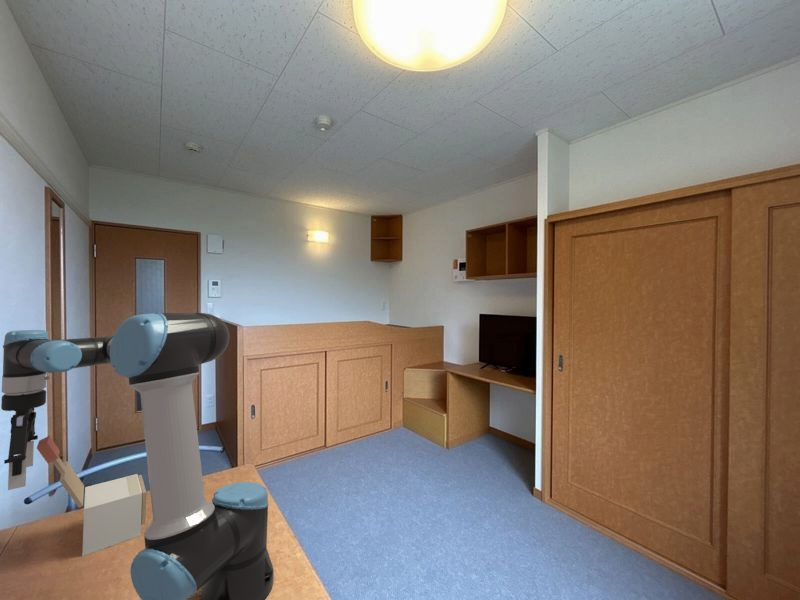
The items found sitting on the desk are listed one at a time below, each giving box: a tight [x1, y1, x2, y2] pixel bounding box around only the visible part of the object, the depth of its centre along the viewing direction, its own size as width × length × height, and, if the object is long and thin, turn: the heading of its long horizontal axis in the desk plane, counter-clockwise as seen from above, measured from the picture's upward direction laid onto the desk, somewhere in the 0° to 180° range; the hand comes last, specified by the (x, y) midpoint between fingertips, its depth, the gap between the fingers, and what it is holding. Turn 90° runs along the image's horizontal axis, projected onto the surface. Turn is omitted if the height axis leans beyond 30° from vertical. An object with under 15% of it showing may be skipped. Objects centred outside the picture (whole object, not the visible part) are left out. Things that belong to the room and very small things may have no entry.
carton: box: [82, 473, 147, 557], centre depth 97 cm, size 14×13×12 cm
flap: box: [36, 435, 85, 509], centre depth 90 cm, size 13×18×2 cm
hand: (21, 476), depth 85 cm, fingers open, 13 cm apart
